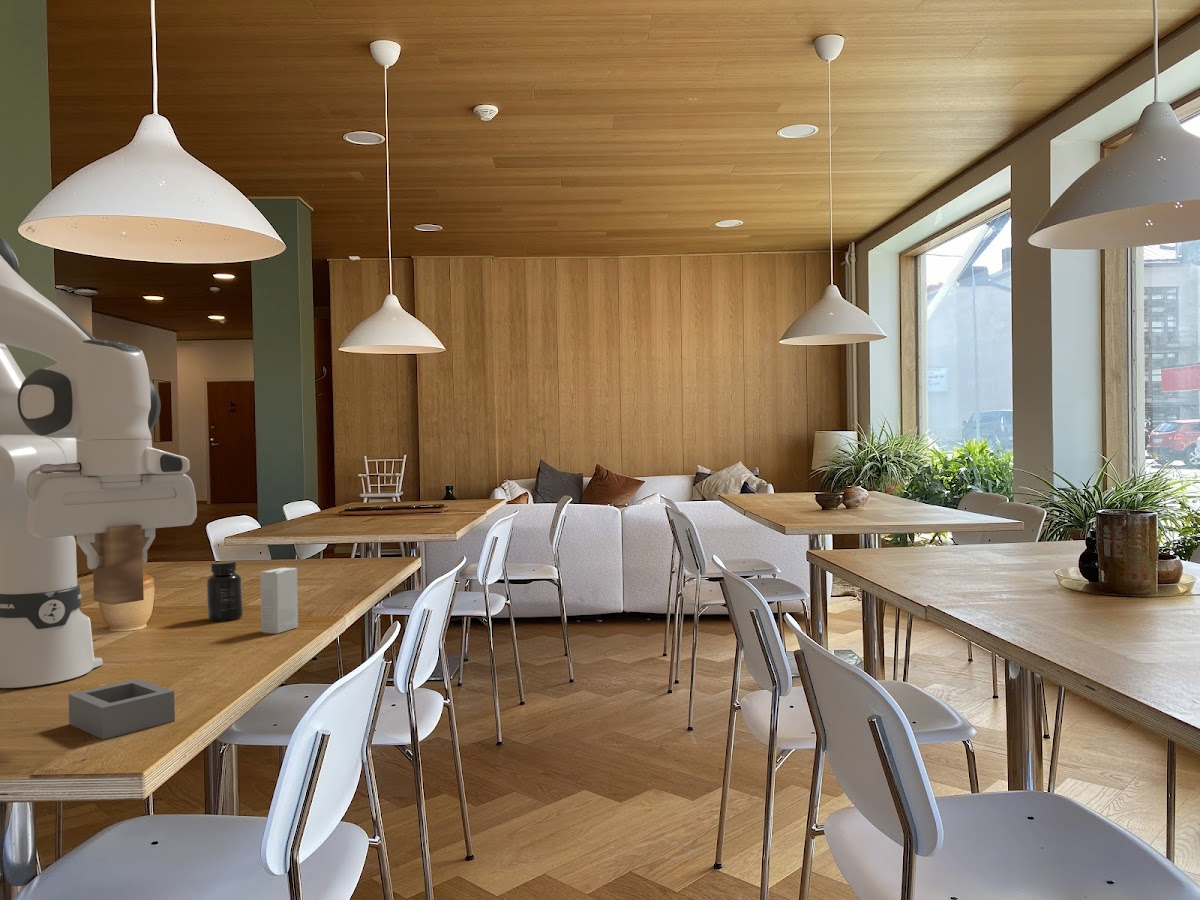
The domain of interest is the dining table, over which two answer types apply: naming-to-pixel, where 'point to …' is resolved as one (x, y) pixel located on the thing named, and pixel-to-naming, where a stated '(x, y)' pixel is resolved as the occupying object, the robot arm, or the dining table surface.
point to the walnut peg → (119, 565)
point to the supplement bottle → (224, 592)
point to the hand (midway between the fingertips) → (117, 565)
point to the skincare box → (279, 600)
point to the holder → (121, 708)
